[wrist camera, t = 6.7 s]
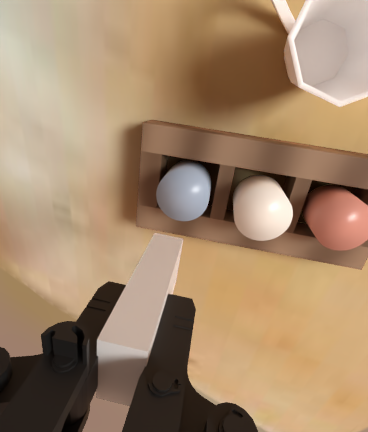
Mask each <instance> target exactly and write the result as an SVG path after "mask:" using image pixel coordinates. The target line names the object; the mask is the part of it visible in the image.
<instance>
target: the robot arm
mask: <svg viewBox="0 0 368 432" xmlns="http://www.w3.org/2000/svg"><path fill="white" fill-rule="evenodd" d="M182 243H183V239H182V238H177V237H172V236H167V235H163V234H158V233H154V235H153V236H152V238H151V240H150V242H149V244H148V246H147V248H146V249H145V251H144V253H143V255H142V257H141V259H140V261H139V262H138V264H137V266H136V268H135V270H134V272H133V274H132V275H131V277H130V279H129V281H128V283H127V285H123V284H119V283H114V282H110V281H109V282H107V283H106V284H104V285H103V286H101V287H100V288H98V290H97V291H96V293H95V294H94V296H93V297H92V300H90V302H89V303H88V305H87V307H86V308H85V309H84V311H83V312H82V314H81V315H80V317H79V318H78V320H77V321H76V322H72V321H66V322H62V323H57V324H55V325H53V326H51V327H49V328H48V329H47V330H46V331H45V332H44V333H42V334H41V339H42V348H43V354H40V355H34V356H22V357H10V355H9V353H8V352H7V351H6V350H5V348H1V347H0V432H82V430H83V428H84V426H85V424H86V421H87V419H88V415H89V411H90V402H91V400H92V398H93V396H94V393H95V391H96V392H97V393H96V395H97V396H96V397H97V398H99V399H103V400H107V401H111V402H115V403H119V404H123V405H127V406H130V408H129V411H128V415H127V417H126V421H125V424H124V427H123V430H122V432H258V430H257V428H256V426H255V423H254V421H253V419H252V418H251V417H250V415H249V414H248V413H247V412H246V411H245V410H244V409H243V408H241V407H239V406H238V405H236V404H233V403H228V402H225V403H221V404H218V405H214V404H213V403H211V402H210V401H208V400H207V399H205V398H204V397H202V396H201V395H200V394H199V393H197V392H196V391H195V389H194V388H193V387H192V385H191V383H190V381H189V378H188V374H187V365H188V358H189V351H190V345H191V338H192V330H193V324H194V317H195V311H196V309H195V306H194V303H193V300H192V299H190V298H186V297H181V296H177V295H172V294H173V291H174V287H175V284H176V279H177V273H178V267H179V261H180V255H181V249H182ZM96 389H97V390H96Z"/></svg>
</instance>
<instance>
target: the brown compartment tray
mask: <svg viewBox="0 0 368 432" xmlns="http://www.w3.org/2000/svg"><path fill="white" fill-rule="evenodd" d="M168 156H174V157H180V158H186V159H192V160H198V161H204V162H210V163H216V164H220V165H219V170H218V175H217V181H216V186H215V191H214V196H213V201H212V206H207V208H206V210H205V211H204V213H203V214H202V215H201V216H199V217H198V218H196V219H194V220H190V221H178V220H174V219H172V218H170V217H168V216H167V215H166V214H165V213H164V212H163V211H162V210H161V209H160V207H159V205H158V202H157V198H156V192H157V187H158V185H159V183H160V181H161V180H162V179H163V177H164V176H165V175H166V168H167V159H168ZM235 167H239V168H245V169H251V170H257V171H263V172H269V173H274V174H280V175H286V176H287V177H286V180H285V183H284V186H283V189H282V190H283V192H284V193H285V195H286V197H287V198H288V200H289V201H290V203H291V206H292V209H293V218H292V221H291V224H290V226H289V227H288V229H287V230H286V231H285V232H284V233H283V234H281V235H280V236H278V237H276V238H274V239H271V240H266V241H258V240H253V239H250V238H248V237H246V236H244V235H243V234H242V233H241V232H240V231H239V230H238V228H237V227H236V224H235V221H234V210H229V209H226V207H227V202H228V198H229V193H230V189H231V184H232V180H233V175H234V171H235ZM312 180H316V181H322V182H328V183H333V184H339V185H345V186H351V187H357V188H356V190H355V192H354V196H356V197H357V198H358V199H360V200H361V201H362V202H364V203H365V204H366V205H368V154H363V153H356V152H350V151H344V150H338V149H331V148H325V147H319V146H312V145H306V144H300V143H294V142H287V141H281V140H275V139H269V138H262V137H256V136H250V135H244V134H237V133H231V132H225V131H219V130H212V129H206V128H200V127H194V126H187V125H181V124H175V123H169V122H162V121H156V120H150V121H146V122H143V126H142V142H141V157H140V172H139V188H138V203H137V219H136V226H137V227H142V228H147V229H152V230H157V231H163V232H168V233H173V234H178V235H183V236H189V237H194V238H199V239H204V240H209V241H215V242H220V243H225V244H230V245H235V246H240V247H246V248H251V249H256V250H261V251H266V252H272V253H277V254H282V255H287V256H292V257H298V258H303V259H308V260H313V261H318V262H323V263H329V264H334V265H339V266H344V267H349V268H355V269H360V270H362V268H363V266H364V264H365V262H366V260H367V258H368V240H367V241H365V242H364V243H363V244H361V245H360V246H358V247H356V248H353V249H350V250H343V251H337V250H332V249H329V248H326V247H324V246H323V245H322V244H321V243H320V242H319V241H318V240H317V238H316V237H315V235H314V234H313V232H312V231H311V229H310V227H309V226H308V224H306V223H300V222H297V221H298V218H299V216H300V213H301V210H302V207H303V204H304V202H305V199H306V196H307V193H308V190H309V188H310V185H311V182H312Z"/></svg>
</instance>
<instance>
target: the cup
mask: <svg viewBox="0 0 368 432" xmlns="http://www.w3.org/2000/svg"><path fill="white" fill-rule="evenodd" d="M271 2H272V4H273V6H274V8H275V10H276V12H277V14H278V16H279V19H280V20H281V22H282V24H283V26H284V28H285V29H286V31H287V33H288V34H289V35H288V37H287V40H286V45H285V48H284V54H285V56H284V61H285V65H286V69H287V74H288V78H289V79H290V81H291V83H293V84H295V85H296V86H297V87H299V88H301V89H303V90H305V91H307V92H309V93H311V94H314V95H316V96H318V97H320V98H322V99H324V100H326V101H328V102H330V103H332V104H334V105H337V106H339V107H341V106H344V105H347V104H349V103H352V102H355V101H357V100H360V99H363V98H365V97H368V0H306V1H305V3H304V5H303V7H302V9H301V11H300V13H299V15H298V17H297V19H296V21H295V19H294V17H293V15H292V13H291V12H290V9H289V7H288V5H287V2H286V0H271Z"/></svg>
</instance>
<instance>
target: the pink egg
mask: <svg viewBox="0 0 368 432" xmlns="http://www.w3.org/2000/svg"><path fill="white" fill-rule="evenodd" d="M302 215H303V218H304V220H305V221H306V223H307V224H308V226H309V227H310V229H311V231H312V232H313V234H314V235H315V237H316V238H317V240H318V241H319V242H320V243H321V244H322V245H323V246H324V247H326V248H329V249H332V250H337V251H343V250H350V249H353V248H356V247H358V246H360V245H361V244H363V243H364V242H365V241H367V240H368V205H366V204H365V203H364V202H362V201H361V200H360V199H358V198H357V197H356V196H354V195H353V194H352V193H350V192H349V191H348V190H346V189H345V188H343V187H341V186H339V185H324V186H320V187H318V188H316V189H314V190H313V191H311V192H310V193H309V194H308V195H307V196H306V199H305V202H304V204H303V207H302Z"/></svg>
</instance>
